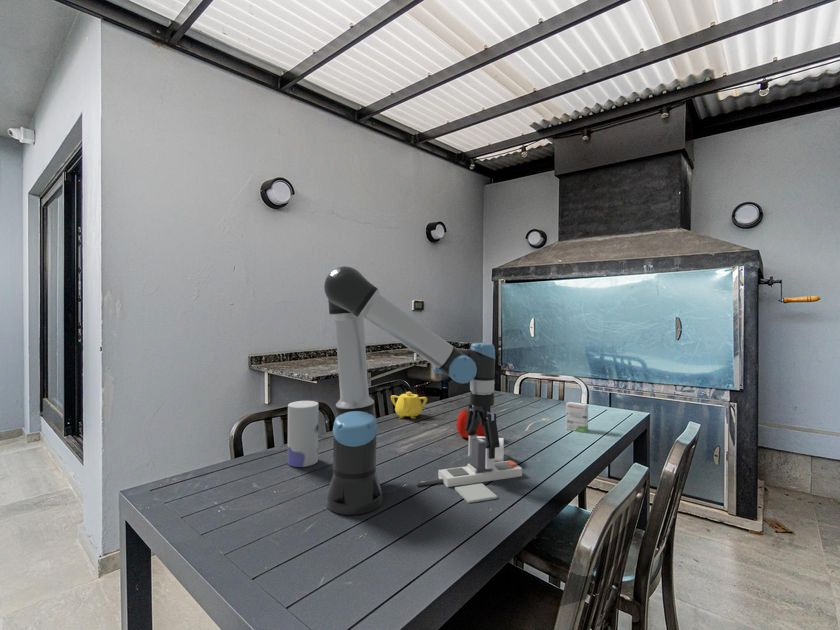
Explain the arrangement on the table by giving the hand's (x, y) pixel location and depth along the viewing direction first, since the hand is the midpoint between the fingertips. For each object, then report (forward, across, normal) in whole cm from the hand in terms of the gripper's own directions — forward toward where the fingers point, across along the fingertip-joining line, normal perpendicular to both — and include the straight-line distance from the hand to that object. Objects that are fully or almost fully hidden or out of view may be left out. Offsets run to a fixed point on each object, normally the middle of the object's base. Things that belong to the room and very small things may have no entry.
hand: (480, 461), depth 132 cm
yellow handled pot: (+5, +73, 0) cm, 73 cm away
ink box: (+5, +32, -65) cm, 73 cm away
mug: (+5, +14, -11) cm, 19 cm away
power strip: (+5, 0, +4) cm, 7 cm away
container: (+5, +30, +52) cm, 60 cm away
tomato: (+5, +37, -16) cm, 41 cm away
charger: (+2, 0, 0) cm, 2 cm away
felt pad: (+5, -10, +7) cm, 13 cm away
